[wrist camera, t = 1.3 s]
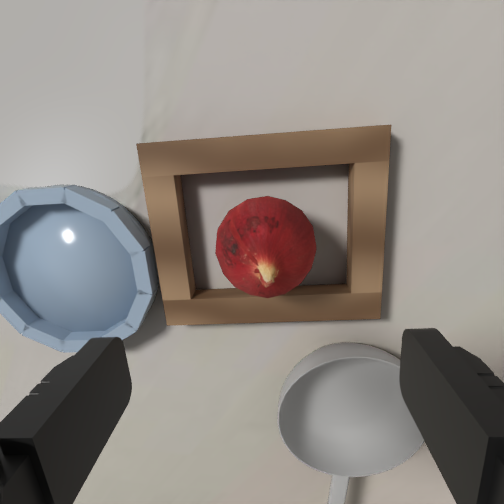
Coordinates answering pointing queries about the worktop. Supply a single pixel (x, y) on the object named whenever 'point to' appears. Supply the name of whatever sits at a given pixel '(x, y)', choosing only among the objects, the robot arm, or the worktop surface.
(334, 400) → the saucepan
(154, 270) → the dish
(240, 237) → the onion
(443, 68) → the worktop surface
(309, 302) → the frame
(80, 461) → the robot arm
